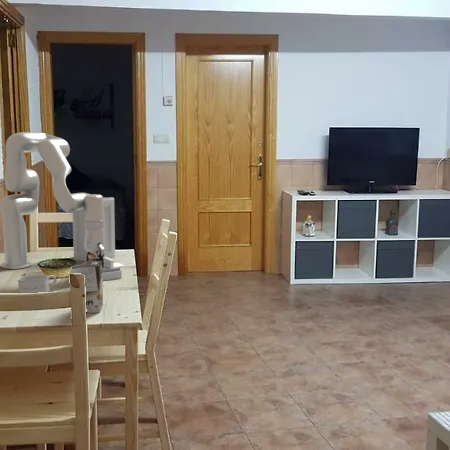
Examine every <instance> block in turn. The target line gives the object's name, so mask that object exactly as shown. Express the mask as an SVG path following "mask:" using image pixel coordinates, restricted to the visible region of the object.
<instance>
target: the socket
mask: <svg viewBox="0 0 450 450" xmlns="http://www.w3.org/2000/svg"><path fill="white" fill-rule="evenodd" d="M81 265H82V264H77V265H71V266H72V269H71V273H81V268H80V266H81ZM117 279H122V270H121V268H113V269H110V268H107V267H105V266H104V267H103V268H102V281H112V280H117Z"/></svg>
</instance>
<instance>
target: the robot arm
mask: <svg viewBox="0 0 450 450" xmlns="http://www.w3.org/2000/svg"><path fill="white" fill-rule="evenodd" d="M70 151H71V148H70V144H69V143H68V141H66V140H65V139H63V138H62V137H58V136H56V135H51V134H49V133H45V132H41V131H37V132H36V131H23V132H20V131H19V132H15V133H13V134H11V135H10V136H9V137H8V138H7V139H6V142H5V170H4V171H5V173H4V174H5V175H4V186H5V189H6V190H7V191H9V192H11V193H14V194H10V195H6V196H5V197H3V198H1V201H0V215H1V218H2V231H3V247H4V248H3V249H4V250H3V251H4V262H2V263H1V264H0V265H1V268H3V269H8V270H18V269H25V268H26V269H27V268H29V267H31V266H32V262H31V261H28V260H29V259H28V242H27V240H28V239H27V238H28V236H27V234H28V233H27V226H26V225H27V224H26V222H25V220H24V217H23V216H25V215H26V216H27V215H31V214H34V213H35V212H36V211H37V209H38V205H39V201H40V200H39V199H40V186H41V185H40V177H39V175H38V173H37V172H36V171H35V170H33V169H30V168H28V167H27V165H28V161H27V157H26V154H25V153H38V154H39V156H40V158H41V159H42V161H43V162H44V164H45V166H46V168H47V170H48V171H49V173H50V176H51V177H52V183H51V188H52V194H53V197H54V199H55V200H56V202H57V203H58V206H59V207H60V209H62V210H63V212H66V213H69V214H73V212H78V211H84V210H85V243H84V248H85V250H86V254H87V261H89V259H88V255H89V254H94V253H95V254H96V257H97V259H96V261H102V268H103V267H104V251H105V249H104V238H103V228H104V216H103V198H104V196H103V195H102V194H93V193H92V194H90V193H87V192H76V193H71V192H70V190H69V188H68V187H67V184H66V178H67V177H68V175H70V173H71V172H72V167H71V164H70V163H69V162H68V160H67V157H68V156H69V155H70ZM15 193H16V194H15ZM18 193H19V194H18ZM98 254H99V255H98Z"/></svg>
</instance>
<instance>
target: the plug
mask: <svg viewBox="0 0 450 450" xmlns="http://www.w3.org/2000/svg"><path fill="white" fill-rule="evenodd" d="M98 255H99V254H98ZM88 259H89V261H96V259H97V257H96V254H89V255H88Z"/></svg>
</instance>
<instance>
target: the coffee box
mask: <svg viewBox="0 0 450 450" xmlns="http://www.w3.org/2000/svg"><path fill="white" fill-rule="evenodd" d="M80 265H81V266H80V268H81V274H84V275H85V287H86V309H87V313H86V314H88V313H89V314H92V313H95V314H98V313H101V311H102V308H103V305H104V299H103V298H104V295H103V294H104V293H103V291H104V289H103V281H102V261H83V262H82V263H81V264H80Z"/></svg>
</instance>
